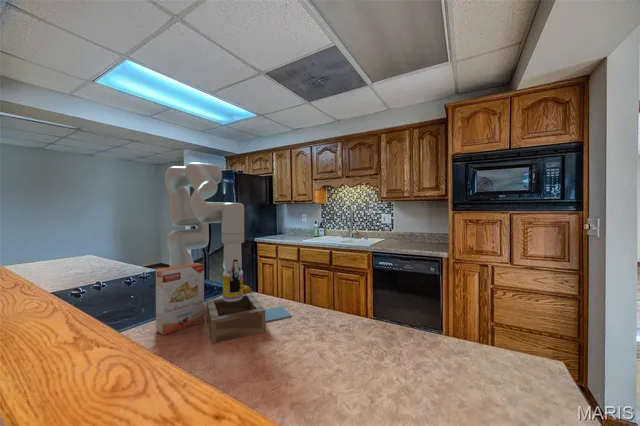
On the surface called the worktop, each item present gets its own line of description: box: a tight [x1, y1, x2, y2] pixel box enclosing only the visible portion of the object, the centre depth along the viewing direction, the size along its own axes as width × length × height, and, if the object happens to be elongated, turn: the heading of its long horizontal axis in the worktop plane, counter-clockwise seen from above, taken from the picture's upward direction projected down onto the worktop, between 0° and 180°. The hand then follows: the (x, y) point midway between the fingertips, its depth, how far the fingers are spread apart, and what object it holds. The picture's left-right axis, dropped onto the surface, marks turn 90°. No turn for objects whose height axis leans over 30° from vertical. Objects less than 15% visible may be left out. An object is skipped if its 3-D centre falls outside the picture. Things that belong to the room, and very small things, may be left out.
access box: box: [206, 292, 267, 344], centre depth 90 cm, size 20×16×7 cm
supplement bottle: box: [222, 269, 244, 302], centre depth 91 cm, size 7×7×13 cm
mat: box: [264, 305, 293, 323], centre depth 99 cm, size 11×11×1 cm
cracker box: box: [155, 262, 205, 336], centre depth 90 cm, size 14×6×21 cm, turn 143°
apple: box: [243, 284, 253, 294], centre depth 108 cm, size 9×8×9 cm
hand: (233, 288), depth 91 cm, fingers closed on supplement bottle, 6 cm apart
